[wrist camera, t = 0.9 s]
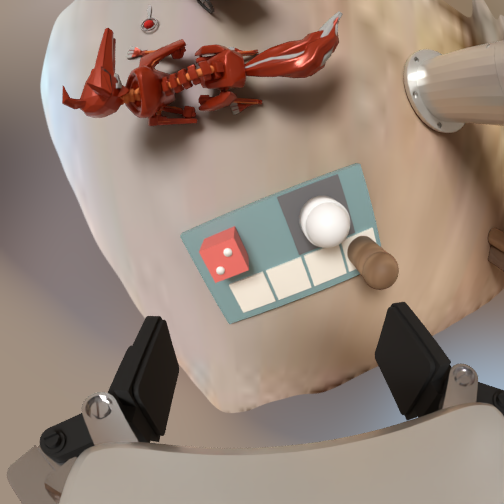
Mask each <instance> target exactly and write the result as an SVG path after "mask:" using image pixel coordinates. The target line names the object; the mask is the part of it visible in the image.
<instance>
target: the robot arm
mask: <svg viewBox="0 0 504 504" xmlns="http://www.w3.org/2000/svg"><path fill="white" fill-rule="evenodd" d="M404 84H405V90H406V93H407V96H408V99H409V101H410V103H411V105H412V107H413V109H414V110H415V112H416V114H417V115H418V116H419V117H420V118H421V120H422V121H423V122H424V123H425V124H426V125H428V126H429V127H430V128H432V129H433V130H436V131H438V132H443V133H453V132H457V131H458V130H460V129H461V128H462V127H463V126H464V124H465V123H475V124H489V125H500V126H504V40H503V41H498V42H493V43H487V44H483V45H478V46H474V47H469V48H465V49H461V50H457V51H454V52H450V53H447V54H443V55H442V54H441V53H439V52H437V51H434V50H429V49H423V50H419V51H417V52H414V53H413V54H412V55H410V57H409V58H408V59H407V61H406V64H405V67H404ZM375 359H376V361H377V363H378V365H379V367H380V369H381V372H382V373H383V376H384V378H385V380H386V382H387V384H388V386H389V388H390V390H391V393H392V395H393V397H394V399H395V401H396V403H397V405H398V408H399V410H400V412H401V414H402V415H405V417H406V419H407V420H410V419H413V418H416V417H417V416H418V418H416V419H413V420H410V421H406V422H403V423H400V424H397V425H393V426H390V427H386V428H383V429H379V430H375V431H372V432H368V433H363V434H359V435H354V436H350V437H344V438H339V439H334V440H328V441H322V442H315V443H308V444H299V445H291V446H279V447H262V448H206V447H188V446H176V445H166V444H155V443H150V441H156V442H159V439H160V435H161V436H163V435H164V434H165V430H166V425H167V421H168V416H169V412H170V407H171V403H172V399H173V394H174V390H175V386H176V382H177V378H178V373H179V365H178V362H177V358H176V355H175V351H174V348H173V345H172V341H171V337H170V334H169V330H168V326H167V323H166V321H165V320H162V318H161V317H160V316H147V317H146V319H145V321H144V323H143V325H142V327H141V329H140V331H139V333H138V335H137V337H136V339H135V342H134V344H133V346H130V347H129V348H128V349H127V351H126V353H125V356H124V358H123V360H122V362H121V364H120V366H119V368H118V371H117V373H116V375H115V378H114V380H113V382H112V384H111V386H110V389H109V391H108V393H105V392H97V393H94V394H92V395H90V396H88V398H86V399H85V401H84V403H83V404H82V413H81V414H79V415H77V416H75V417H72V418H70V419H68V420H66V421H64V422H61V423H59V424H57V425H55V426H52V427H50V428H48V429H47V430H45V431H44V432H43V434H42V436H41V437H40V446H38V447H37V446H34V447H32V448H31V449H30V450H29V451H28V452H26V453H25V454H24V455H23V456H22V457H20V458H19V459H18V460H17V461H16V462H15V463H13V464H12V465H11V466H10V467H9V468H8V471H7V478H8V481H9V483H10V485H11V487H12V488H13V490H14V492H15V493H16V495H17V496H18V498H19V499H20V501H21V503H22V504H504V390H501V389H498V388H495V387H492V386H489V385H486V384H483V383H480V382H478V376H477V373H476V372H475V370H474V369H473V368H471V367H470V366H468V365H466V364H456V365H454V366H453V367H451V366H450V363H451V361H450V360H449V359H448V357H447V356H446V355H445V353H444V352H443V350H442V349H441V347H440V346H439V345H438V343H437V342H436V341H435V339H434V338H433V337H432V335H431V334H430V333H429V331H428V330H427V329H426V328H425V326H424V325H423V324H422V322H421V321H420V320H419V319H418V317H417V316H416V315H415V314H414V312H413V311H412V310H411V309H410V307H409V306H408V305H407V304H406V303H405V302H399V303H393V304H392V305H391V307H389V308H388V310H387V314H386V318H385V321H384V325H383V328H382V332H381V335H380V338H379V342H378V345H377V348H376V351H375Z"/></svg>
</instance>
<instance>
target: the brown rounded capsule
mask: <svg viewBox="0 0 504 504" xmlns="http://www.w3.org/2000/svg"><path fill="white" fill-rule="evenodd" d="M347 256H348V259H349V260H350V262H351V263H352V264H353V265H354V266H355V268H356V269H357V270H358V271H359V273H360V274H361V275H362V276H363V278H364V280H365V281H366V283H367V284H368V285H369V286H370V287H372V288H374V289H378V290H382V289H386V288H389V287H390V286H392V285H393V284H394V282H395V281H396V279H397V277H398V272H399V268H398V264H397V261H396V260H395V258H394V257H393V256H392V255H391V254H389V253H387V252H386V251H385V250H384V249H383V248H381V247H380V246H379V245H378V244H377V243H376V242H374V241H373V240H372V239H371V238H370V237H368V236H359V237H357V238H355V239H354V240H353V241H352V242H351V243H350V244H349V246H348V250H347Z"/></svg>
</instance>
